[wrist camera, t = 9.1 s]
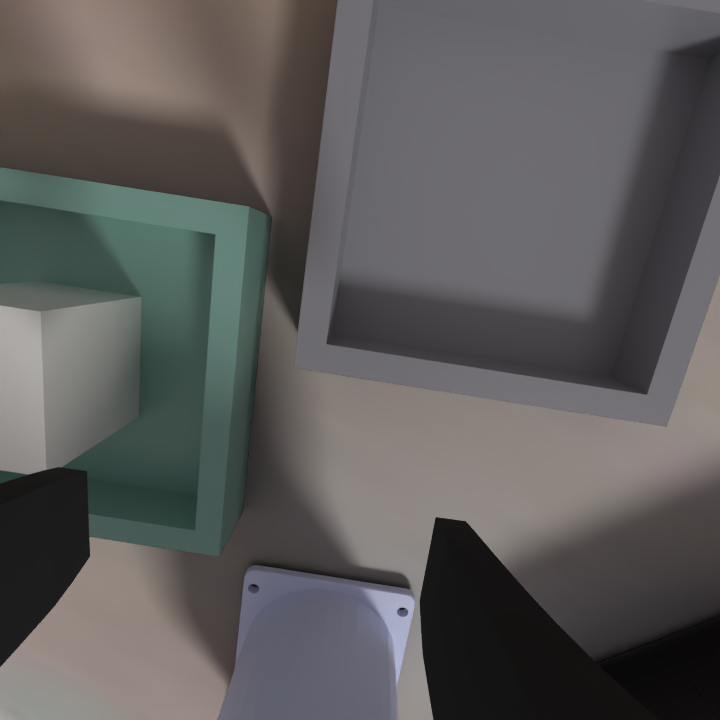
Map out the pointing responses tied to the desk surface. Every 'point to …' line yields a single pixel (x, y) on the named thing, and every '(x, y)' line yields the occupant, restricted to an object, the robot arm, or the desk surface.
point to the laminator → (674, 674)
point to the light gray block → (64, 371)
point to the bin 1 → (157, 344)
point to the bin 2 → (518, 200)
